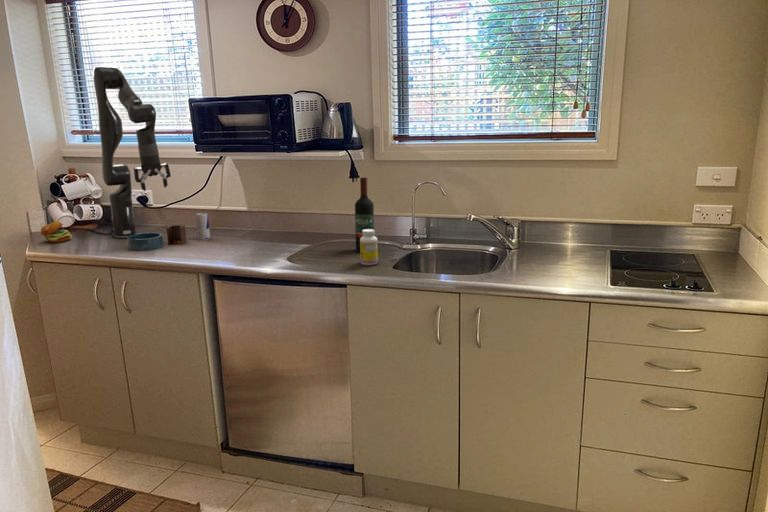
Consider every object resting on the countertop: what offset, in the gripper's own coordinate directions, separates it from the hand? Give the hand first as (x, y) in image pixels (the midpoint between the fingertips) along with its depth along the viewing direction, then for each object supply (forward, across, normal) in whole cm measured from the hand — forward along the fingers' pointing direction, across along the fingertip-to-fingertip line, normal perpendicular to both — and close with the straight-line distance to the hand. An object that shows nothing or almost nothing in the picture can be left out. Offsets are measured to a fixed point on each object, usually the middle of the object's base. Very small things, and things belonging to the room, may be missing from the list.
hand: (154, 188), depth 247 cm
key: (+22, -4, +12) cm, 25 cm away
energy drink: (+24, -15, +11) cm, 30 cm away
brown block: (+22, -3, +13) cm, 26 cm away
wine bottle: (+15, -65, +69) cm, 96 cm away
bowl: (+21, +10, +14) cm, 27 cm away
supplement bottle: (+10, -56, +87) cm, 104 cm away
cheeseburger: (+27, +41, -24) cm, 55 cm away
